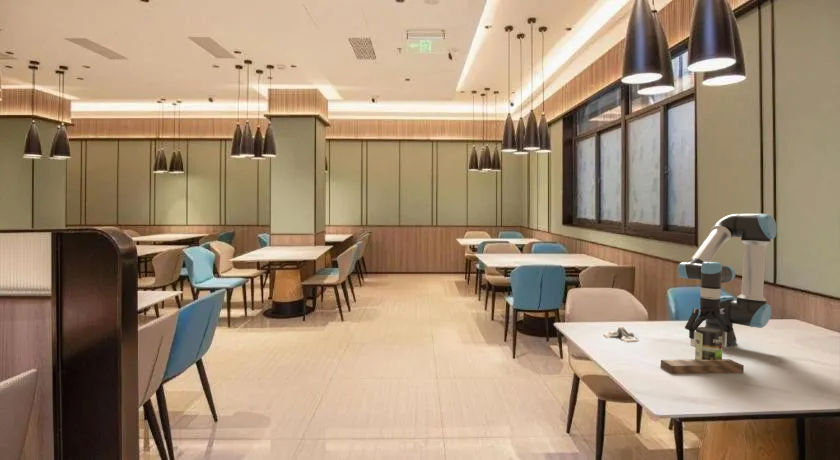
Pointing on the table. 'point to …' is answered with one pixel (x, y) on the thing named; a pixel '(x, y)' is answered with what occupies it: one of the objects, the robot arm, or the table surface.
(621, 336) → the cloth
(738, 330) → the table surface
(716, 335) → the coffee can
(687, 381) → the table surface
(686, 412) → the table surface
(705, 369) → the walnut plank
